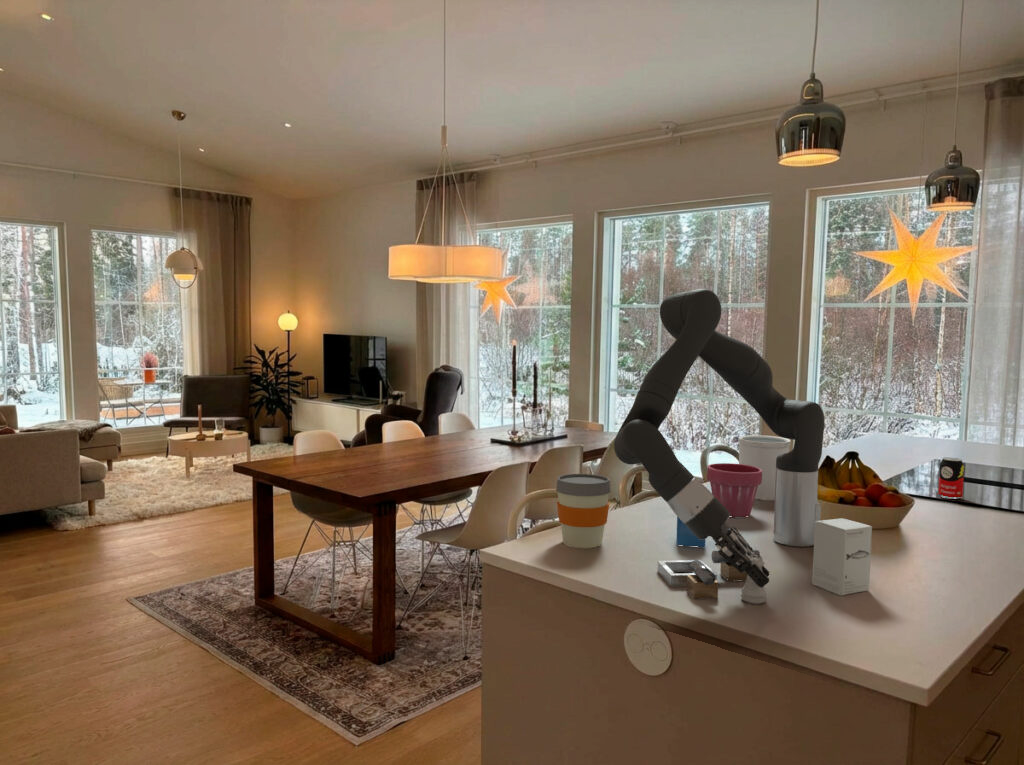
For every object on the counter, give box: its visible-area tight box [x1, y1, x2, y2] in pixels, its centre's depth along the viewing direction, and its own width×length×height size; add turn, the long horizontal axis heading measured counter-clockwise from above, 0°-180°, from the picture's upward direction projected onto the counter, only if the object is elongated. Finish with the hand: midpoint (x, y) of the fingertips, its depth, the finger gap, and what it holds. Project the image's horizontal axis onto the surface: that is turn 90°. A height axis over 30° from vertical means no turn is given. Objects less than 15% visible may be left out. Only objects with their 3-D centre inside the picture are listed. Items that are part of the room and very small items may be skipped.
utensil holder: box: [738, 434, 791, 501], centre depth 220 cm, size 15×15×18 cm
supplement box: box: [811, 517, 873, 597], centre depth 139 cm, size 7×7×13 cm
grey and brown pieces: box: [657, 549, 761, 600], centre depth 140 cm, size 19×17×5 cm
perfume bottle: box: [676, 515, 706, 548], centre depth 168 cm, size 6×6×12 cm
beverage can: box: [937, 457, 965, 498], centre depth 219 cm, size 6×6×12 cm
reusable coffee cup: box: [555, 473, 612, 549], centre depth 168 cm, size 13×13×15 cm
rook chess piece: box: [740, 555, 767, 605], centre depth 132 cm, size 4×4×8 cm
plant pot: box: [706, 462, 762, 518], centre depth 197 cm, size 14×14×13 cm
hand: (765, 580), depth 131 cm, fingers closed on rook chess piece, 3 cm apart
